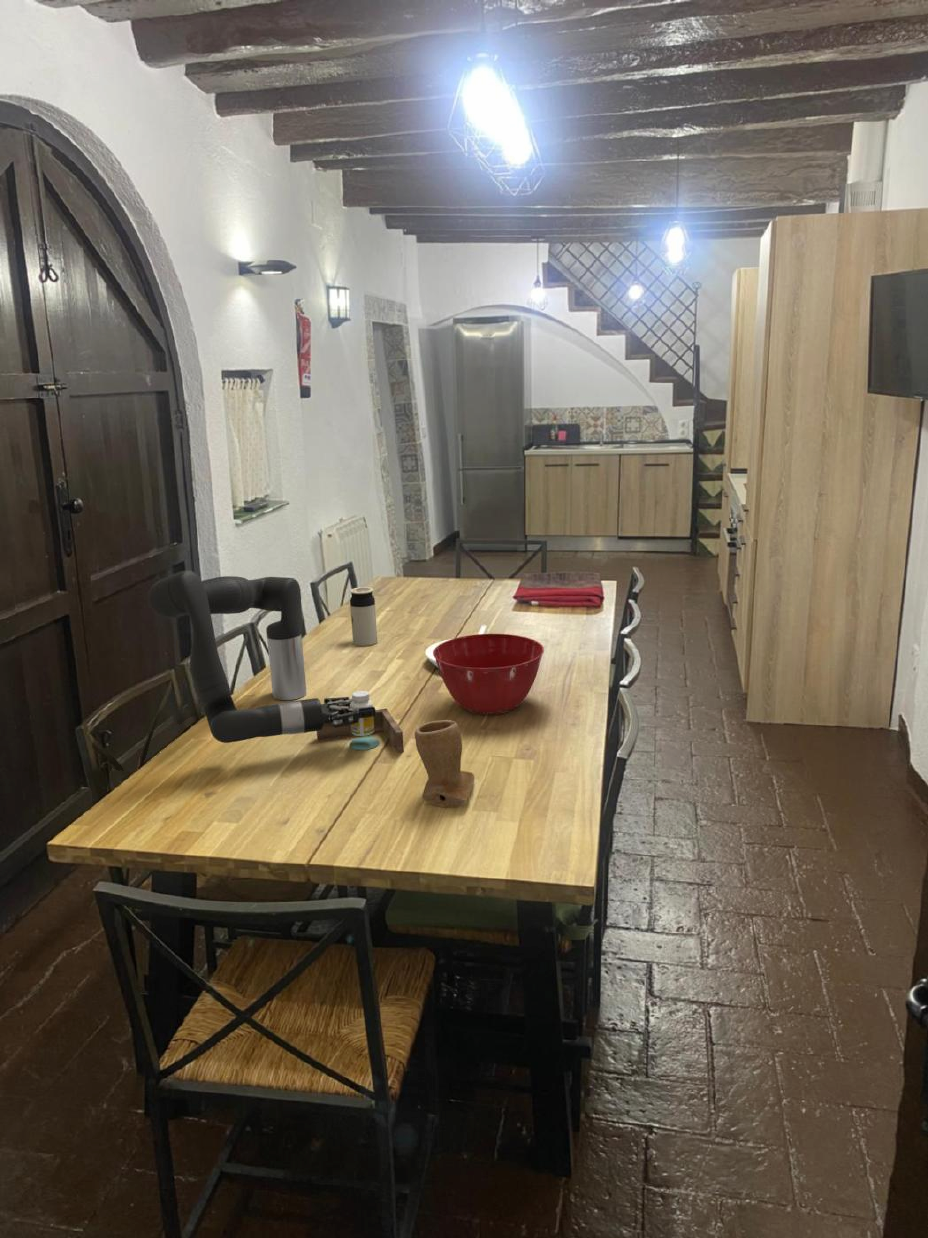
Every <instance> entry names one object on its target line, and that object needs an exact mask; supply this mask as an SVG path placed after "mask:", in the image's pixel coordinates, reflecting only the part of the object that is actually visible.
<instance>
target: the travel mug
mask: <svg viewBox="0 0 928 1238" xmlns="http://www.w3.org/2000/svg"><path fill="white" fill-rule="evenodd" d="M349 592H350V594H351V597H350V600H349V606H350V617H351V618H350V619H351V631H352V632H351V634H352V644H353V645H355V646H358V647H369V645H370V646H373V645H375V644H377V643H378V631H377V630H378V629H377V627H378V626H377V614H376V613H377V612H376V601H375V599H376V598H375V597H374V596H373V592H374V588H372V587H370V586H368V587H367V586H363V587H362V586H359V587H355V588H351V589H350V590H349Z"/></svg>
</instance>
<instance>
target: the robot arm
mask: <svg viewBox="0 0 928 1238" xmlns="http://www.w3.org/2000/svg"><path fill="white" fill-rule="evenodd" d="M301 591H302V590H301V586H300V583H299V582H298V581H297V580H296V579H295V578H294V577H285V576H284V577H283V576H266V577H261V578H255V579H247V578H245V577H242V576H235V575H234V576H233V575H231V576H230V575H229V576H226V575H225V576H217V577H213V578H208V579H204V580H202V579H201V578H200V576H199V575H198V574H197V573H195V572H194V571H192V570H189V569H186V570H182V571H178V572H176V573H174V574H171V575H169V576H167V577H164V578H161V579H160V580H157V581H156V582H155V583H154V584H152V586H151V587H150V589H149V591H148V593H147V599H148V600H147V601H148V604H149V606H150V608H151V609H152V610H153V612H154V613H156V614H157V615H158V616H160V617H162V618H165V619H169V620H171V619H173V620H174V619H177V618H181V617H185V616H189V618H190V622H191V627H192V629H191V630H192V640H191V641H192V643H191V647H190V648H191V649H190V650H191V651H190V654H189V655H190V656H189V671H190V676H191V678H192V682H193V684H194V688H195V690H196V692H197V696H198V698H199V700H200V702H201V703H202V706H203V710H204V714H205V716H206V721H207V723H208V726H209V730H210V733H211V735H212V738H214V739H215V740H216V741H218V742H220V743H225V744H230V743H236V742H241V741H245V740H246V741H247V740H251V739H254V738H266V737H276V736H282V735H283V736H284V735H298V734H304V733H312V732H317V731H320V730H322V728H323V724H324V723H334V727H335V728H337V727H341V726H346V725H351V724H355V723H358V722H359V721H358V720H360V718H366V717H373V716H375V715H376V712H375V710H376V708H375V706H373V707H365V708H359V709H357V708H356V709H350V703H351V702H353V700H352V698H350V697H349V696H343V697H340V696H339V697H328V698H327V697H325V698H324V699H323V703H322V704H321V700H320V699H319V698H318V697H315V698H308V699H307V698H306V699H300V698H303V697H305V696H306V694H307V692H308V691H307V684H306V683H307V682H306V672H305V670H306V669H305V659H304V649H303V638H302V625H303V614H302V613H303V612H302V592H301ZM249 609H256V610H257V609H258V610H263V611H269V612H280V620H277V621H274V622H273V623H270V624H269V625H267V627H266V630H265V631H266V641H267V642H266V643H267V651H268V659H269V661H268V663H269V670H270V671H269V672H270V680H271V681H270V682H271V683H270V684H271V692H272V697H273V699H275V700H278V701H286V702H282V703H278V704H277V703H276V704H269V705H263V706H258V707H256V708H250V709H237V707H236V705H235V702H234V700H233V698H232V694H231V687H230V685H229V681H228V678H227V675H226V673H225V669H224V666H223V664H222V662H221V657H220V654H219V651H218V646H217V642H216V635H215V632H214V630H215V629H214V624H213V618H212V615H231V614H232V615H233V614H240V613H245V612H246V611H247V612H248V610H249ZM297 699H300V700H297ZM369 701H371V700H370V699H369ZM349 720H351V721H349Z"/></svg>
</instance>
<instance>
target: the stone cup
mask: <svg viewBox="0 0 928 1238" xmlns="http://www.w3.org/2000/svg"><path fill="white" fill-rule="evenodd" d="M414 740H415V746H416V750H417V752H418V754H419V757H420V759H421V761H422V763H423V766H424V768H425V770H426V774H427V778H428V779H427V781H426V783H425V785H424V789H423V792H422V795H421V799H422V800H423V801H426V802H427V803H428V804H431V805H434V806H437V807H440V808H457V807H460V806H464V805H465V804H466V803H467V802H468V799H469V797H470V794H471V792H472V790H473V787H474V784H475V783H474V782H475V774H474V773H473V772H471V771H464V770H461V767H462V765H461V764H462V763H461V762H462V752H463V742H462V741H463V740H462V734H461V730H460V727H459V725H458V723H457V722H456V721H454V720H449V719H443V720H434V721H430V722H426V723H422V724H421V725H419V726H417V728H415V730H414Z"/></svg>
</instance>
